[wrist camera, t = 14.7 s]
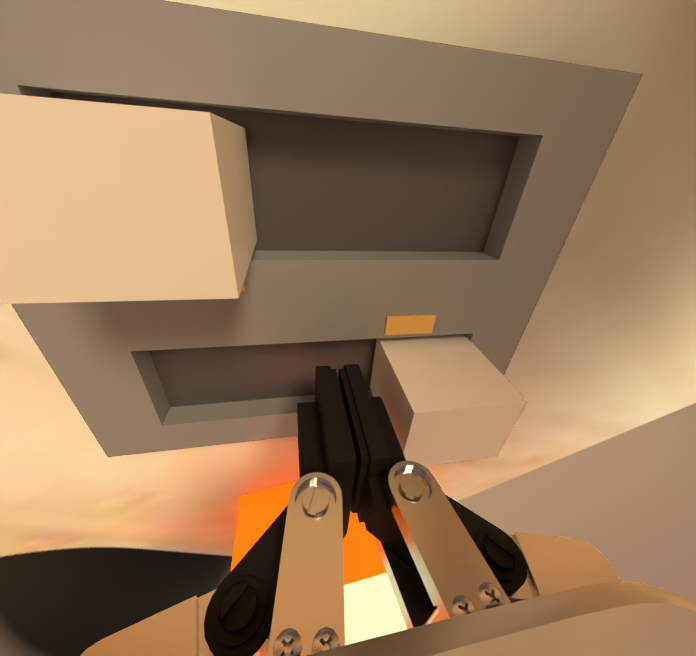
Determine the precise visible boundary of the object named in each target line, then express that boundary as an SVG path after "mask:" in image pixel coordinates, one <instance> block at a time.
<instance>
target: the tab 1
mask: <svg viewBox="0 0 696 656" xmlns="http://www.w3.org/2000/svg"><path fill="white" fill-rule="evenodd" d="M256 242H257V235H256V226H255V217H254V207H253V198H252V188H251V179H250V169H249V160H248V151H247V141H246V132H245V128H243V127H241V126H239V125H237V124H234V123H232V122H230V121H228V120H226V119H223V118H221V117H219V116H217V115H215V114H212V113H210V112H201V111H190V110H179V109H168V108H157V107H146V106H135V105H124V104H113V103H102V102H91V101H80V100H69V99H58V98H47V97H36V96H25V95H14V94H3V93H0V304H22V303H65V302H108V301H151V300H194V299H237V298H239V296H240V293H241V290H242V286H243V283H244V280H245V277H246V274H247V271H248V267H249V264H250V261H251V258H252V255H253V251H254V248H255V245H256Z"/></svg>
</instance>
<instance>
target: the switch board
mask: <svg viewBox="0 0 696 656" xmlns="http://www.w3.org/2000/svg"><path fill="white" fill-rule="evenodd" d="M641 77H642V74H636V73H629V72H623V71H617V70H610V69H604V68H597V67H591V66H584V65H578V64H571V63H565V62H558V61H552V60H545V59H539V58H532V57H526V56H519V55H513V54H507V53H500V52H494V51H487V50H481V49H474V48H468V47H461V46H455V45H448V44H442V43H435V42H429V41H422V40H416V39H409V38H403V37H397V36H390V35H384V34H377V33H371V32H364V31H358V30H351V29H345V28H338V27H332V26H325V25H319V24H312V23H306V22H299V21H293V20H287V19H280V18H274V17H267V16H261V15H254V14H248V13H241V12H235V11H228V10H222V9H215V8H209V7H202V6H196V5H189V4H183V3H177V2H170V1H164V0H0V93H3V94H14V95H25V96H36V97H47V98H58V99H69V100H80V101H91V102H102V103H113V104H124V105H135V106H146V107H157V108H168V109H179V110H190V111H201V112H210V113H212V114H215V115H217V116H219V117H221V118H223V119H226V120H228V121H230V122H232V123H234V124H237V125H239V126H241V127H243V128H245V132H246V141H247V151H248V160H249V169H250V179H251V188H252V198H253V207H254V217H255V226H256V235H257V242H256V245H255V248H254V251H253V255H252V258H251V261H250V264H249V267H248V271H247V274H246V277H245V280H244V283H243V286H242V290H241V293H240V296H239V298H237V299H194V300H151V301H108V302H65V303H22V304H11V305H12V306H13V308H14V309H15V311H16V312H17V314H18V316H19V317H20V319H21V320H22V322H23V324H24V325H25V327H26V328H27V330H28V331H29V333H30V335H31V336H32V338H33V339H34V341H35V343H36V344H37V346H38V347H39V349H40V350H41V352H42V354H43V355H44V357H45V358H46V360H47V362H48V363H49V365H50V366H51V368H52V369H53V371H54V373H55V374H56V376H57V377H58V379H59V381H60V382H61V384H62V385H63V387H64V388H65V390H66V392H67V393H68V395H69V396H70V398H71V400H72V401H73V403H74V404H75V406H76V407H77V409H78V411H79V412H80V414H81V415H82V417H83V419H84V420H85V422H86V423H87V425H88V426H89V428H90V430H91V431H92V433H93V434H94V436H95V437H96V439H97V441H98V442H99V444H100V445H101V447H102V449H103V450H104V452H105V453H106V455H107V456H108V457H113V456H122V455H131V454H140V453H149V452H157V451H166V450H175V449H184V448H193V447H202V446H211V445H220V444H228V443H237V442H246V441H255V440H264V439H273V438H282V437H291V436H298V423H297V403H302V402H315V370H316V366H329V365H330V366H331V369H336V371H337V375H338V371H339V369H343V367H344V365H348V364H359V366H360V369H361V372H362V375H363V378H364V380H365V383H366V386H367V389H368V392H369V395H370V397H373V394H372V391H371V389H370V383H371V375H372V368H373V361H374V354H375V347H376V339H377V338H396V337H415V336H434V335H453V334H464V335H465V336H466V337H467V338H468V339H469V340H470V341H471V342H472V343H473V344H474V345H475V346H476V347H477V348H478V349H479V350H480V351H481V352H482V354H483V355H484V356H485V357H486V358H487V359H488V360H489V361H490V362H491V363H492V364H493V365H494V366H495V367H496V368H497V369H498V370H499V371H500V372H501V374H502V375H503V376H504V373H505V371H506V369H507V367H508V365H509V363H510V360H511V358H512V356H513V354H514V352H515V350H516V347H517V345H518V343H519V341H520V339H521V337H522V334H523V332H524V330H525V328H526V326H527V324H528V322H529V319H530V317H531V315H532V313H533V311H534V309H535V306H536V304H537V302H538V300H539V298H540V296H541V293H542V291H543V289H544V287H545V285H546V283H547V280H548V278H549V276H550V274H551V272H552V270H553V267H554V265H555V263H556V261H557V259H558V257H559V254H560V252H561V250H562V248H563V246H564V244H565V241H566V239H567V237H568V235H569V233H570V231H571V228H572V226H573V224H574V222H575V220H576V218H577V215H578V213H579V211H580V209H581V207H582V205H583V202H584V200H585V198H586V196H587V194H588V192H589V189H590V187H591V185H592V183H593V181H594V179H595V176H596V174H597V172H598V170H599V168H600V166H601V163H602V161H603V159H604V157H605V155H606V153H607V150H608V148H609V146H610V144H611V142H612V140H613V137H614V135H615V133H616V131H617V129H618V127H619V125H620V122H621V120H622V118H623V116H624V114H625V112H626V109H627V107H628V105H629V103H630V101H631V99H632V96H633V94H634V92H635V90H636V88H637V86H638V83H639V81H640V79H641Z"/></svg>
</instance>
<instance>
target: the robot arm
mask: <svg viewBox="0 0 696 656" xmlns="http://www.w3.org/2000/svg"><path fill="white" fill-rule="evenodd" d="M297 423H298V449H299V471H300V479H299V480H298V481H296V483H295V484H294V486H293V487H292V489H291V492H290V496H289V501H288V505H287V506H286V507H285V509H284V510H283V511H282V512H281V513H280V515H279V516H278V517H277V518H276V519H275V520H274V522H273V523H272V524H271V525H270V526H269V527H268V529H267V530H266V531H265V532H264V533H263V535H262V536H261V537H260V538H259V539H258V540H257V542H256V543H255V544H254V545H253V546H252V547H251V549H250V550H249V551H248V552H247V553H246V555H245V556H244V557H243V558H242V559H241V560H240V562H239V563H238V564H237V565H236V566H235V567H234V569H233V570H232V571H231V572H230V573H229V575H228V576H227V577H226V578H225V579H224V580H223V582H222V583H221V584H220V585H219V587H218V588H217V589H216V590H214V591H211V592H209V593H207V594H205V595H203V596H201V597H199V598H197V596H194V597H192V598H190V599H187V600H185V601H183V602H181V603H179V604H177V605H175V606H173V607H170V608H168V609H166V610H164V611H162V612H160V613H157V614H155V615H153V616H151V617H149V618H147V619H145V620H143V621H140V622H138V623H136V624H134V625H132V626H130V627H128V628H126V629H123V630H121V631H119V632H117V633H115V634H113V635H110V636H108V637H106V638H104V639H102V640H100V641H99V642H97V643H96V644H94V645H93V646H91V647H90V648H88V649H86V651H85V652H84V653H83V654H82V655H81V656H696V602H695V601H693V600H691V599H688V598H686V597H684V596H681V595H679V594H677V593H675V592H671V591H669V590H666V589H662V588H659V587H656V586H652V585H647V584H642V583H635V582H621V581H620V579H619V578H618V576H617V574H616V573H615V571H614V569H613V568H612V566H611V565H610V563H609V562H608V561H607V559H606V558H605V557H604V555H603V554H602V553H600V552H599V551H598V550H597V549H596V548H595V547H594V546H592V545H590V544H589V543H587V542H585V541H583V540H580V539H576V538H568V537H557V536H549V535H539V534H529V533H519V532H515V533H514V534H513V535H510V534H506V533H505V532H503V531H502V530H501V529H499V528H498V527H496V526H494V525H493V524H491V523H489V522H488V521H486V520H485V519H483V518H482V517H480V516H478V515H477V514H475V513H474V512H472V511H470V510H469V509H467V508H466V507H464V506H462V505H461V504H459V503H458V502H456V501H454V500H453V499H451V498H450V497H448V496H446V495H445V494H444V492H443V491H442V489H441V487H440V486H439V484H438V483H437V481H436V479H435V478H434V476H433V475H432V474H431V472H430V471H429V470H428V469H427V468H425V467H424V466H423V465H421V464H419V463H417V462H414V461H408V460H407V461H406V459H405V456H404V454H403V451H402V448H401V446H400V443H399V441H398V438H397V436H396V433H395V431H394V428H393V426H392V423H391V420H390V418H389V415H388V413H387V410H386V408H385V405H384V403H383V400H382V398H381V397H370V395H369V392H368V389H367V386H366V383H365V380H364V378H363V375H362V372H361V369H360V366H359V364H348V365H344V367H343V369H339V371H338V375H337V371H336V369H331V366H330V365H329V366H316V370H315V402H302V403H297ZM350 512H352V513H357V516H358V521H359V523H361V522H365V527H366V530H367V531H368V532H369V533H370V534H372V535H373V536H374V537H375V542H376V545H377V548H378V550H379V553H380V556H381V559H382V561H383V564H384V567H385V570H386V572H387V575H388V578H389V580H390V583H391V586H392V589H393V591H394V594H395V597H396V600H397V602H398V605H399V608H400V611H401V613H402V616H403V619H404V622H405V624H406V627H407V630H403V631H399V632H395V633H391V634H387V635H383V636H379V637H376V638H372V639H368V640H364V641H360V642H356V643H352V644H348V645H345V620H344V564H343V539H344V537H345V536H346V534H347V530H348V524H349V518H350Z"/></svg>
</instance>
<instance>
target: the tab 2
mask: <svg viewBox="0 0 696 656" xmlns="http://www.w3.org/2000/svg"><path fill="white" fill-rule="evenodd" d="M370 389H371V391H372V394H373V397H381V398H382V400H383V403H384V405H385V408H386V410H387V413H388V415H389V418H390V420H391V423H392V426H393V428H394V431H395V433H396V436H397V438H398V441H399V443H400V446H401V448H402V451H403V454H404V456H405V459H406V461H407V460H408V461H414V462H417V463H419V464H421V465H423V466H424V467H426V466H433V465H440V464H447V463H454V462H461V461H468V460H475V459H482V458H488V457H495V456H497V455H498V454H499V452H500V450H501V448H502V446H503V445H504V443H505V441H506V439H507V437H508V436H509V434H510V432H511V430H512V428H513V427H514V425H515V423H516V421H517V419H518V418H519V416H520V414H521V412H522V410H523V409H524V407H525V405H526V403H527V400H526V399H525V398H524V397H523V396H522V395H521V394H520V392H519V391H518V390H517V389H516V388H515V387H514V386H513V385H512V384H511V383H510V382H509V381H508V380H507V379H506V378H505V377H504V376H503V375H502V374H501V372H500V371H499V370H498V369H497V368H496V367H495V366H494V365H493V364H492V363H491V362H490V361H489V360H488V359H487V358H486V357H485V356H484V355H483V354H482V352H481V351H480V350H479V349H478V348H477V347H476V346H475V345H474V344H473V343H472V342H471V341H470V340H469V339H468V338H467V337H466V336H465V335H464V334H453V335H434V336H415V337H396V338H377V339H376V347H375V354H374V361H373V368H372V375H371V383H370Z"/></svg>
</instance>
